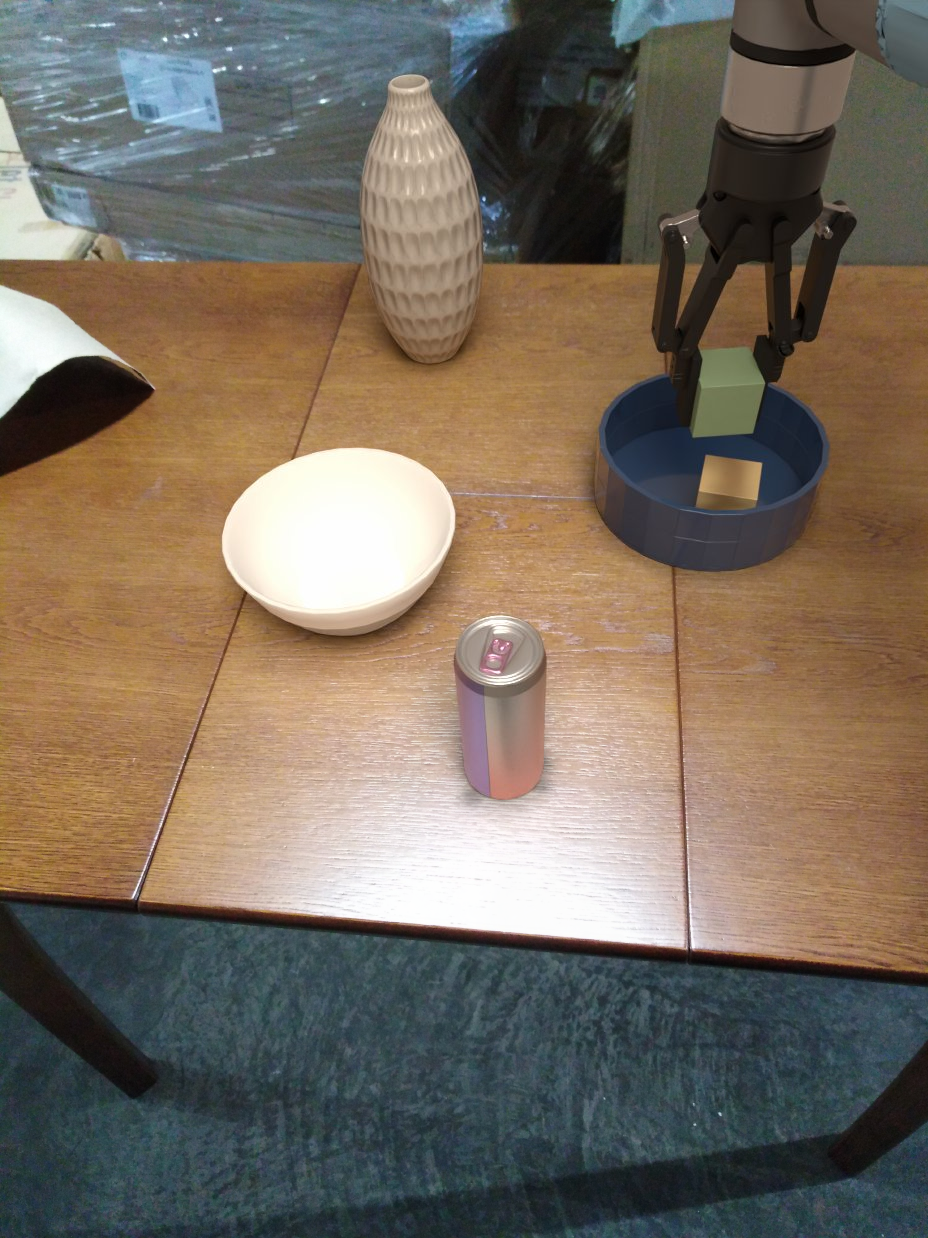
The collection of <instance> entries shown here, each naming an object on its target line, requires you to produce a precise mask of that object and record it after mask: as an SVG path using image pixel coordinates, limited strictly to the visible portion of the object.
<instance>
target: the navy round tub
mask: <svg viewBox="0 0 928 1238" xmlns="http://www.w3.org/2000/svg"><path fill="white" fill-rule="evenodd" d="M677 393H678V389H677V390H674V389H673V386H672V382H671V379H670V376H669V372H666V373H662V374H657V375H655V376H651V377H649V378H646V379H644V380H641V381H638V382H636V383H633V384H632V385H631V386H630V387H628V388H627V389H625V390H623V391H622V392H621V393H619V394H618V395H616V396H615V398H614V399H613V400H612V401H611V403H610V404H609V405H608V406H607V408H605V410H604V411H603V414H602V417H601V420H600V422H599V426H598V430H597V440H596V441H597V442H596V454H595V464H594V465H595V467H594V468H595V469H594V479H593V486H594V494H593V495H594V501H595V505H596V508H597V510H598V513H599V515H600V517H601V519H602V520H603V522H604V524H605V525H606V526H607V528H608V529H609V531H610V532H612V533H613V535H615V536H616V538H617V539H619V540H620V541H621V542H622V543H623V544H625V545H626V546H628V547H629V548H630V549H632V550H634V551H635V552H637V553H639V554H641V555H642V556H644V557H647V558H648V559H652V560H654V561H656V562H658V563H662V564H664V565H668V566H671V567H676V568H680V569H684V570H692V571H697V572H698V571H699V572H729V571H737V570H744V569H747V568H750V567H751V568H752V567H755V566H758V565H761V564H763V563H766V562H769V561H770V560H773V559H774V558H776V557H778V556H779V555H782V554H783V553H784V552H786V551H787V550H788V549H790V548H791V547H792V546H793V545H794V544H795V543H796V542H797V541H798V540H799V538H800V537H801V536H802V534H803V533H804V532H805V529H806V527H807V524H808V522H809V520H810V519H811V516H812V513H813V511H814V508H815V505H816V501H817V499H818V497H819V493H820V490H821V488H822V484H823V481H824V478H825V475H826V472H827V470H828V467H829V464H830V463H829V462H830V449H831V443H830V440H829V437H828V434H827V431H826V428H825V426H824V424H823V423H822V422H821V420H820V418H819V417H817V415H816V413H815V412H814V411H813V410H812V409H811V407H809V405H807V404H806V403H805V402H803V401H802V400H801V399H799V397H797V396H795V395H794V394H793V393H791V392H790V391H788V390H786V389H784V388H782V387H780V386H777V385H776V384H773V383H772V382H771V383H768V387H767V391H766V395H765V399H764V403H763V407H762V411H761V415H760V419H759V422H755V426H754V430H753V433H751V434H737V435H723V436H709V437H695V438H693V437H692V434H691V431H690V428H689V427H681V424H680V421H679V418H678V414H677V411H676V408H675V406H676V399H677ZM706 455H712V456H719V457H725V458H732V459H739V460H746V461H753V462H759V463H762V469H761V477H760V484H759V491H758V499H757V503H756V507H754V508H749V509H744V510H709V509H703V508H697V507H695V506H696V500H697V495H698V490H699V485H700V480H701V476H702V471H703V466H704V461H705V456H706Z"/></svg>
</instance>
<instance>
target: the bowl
mask: <svg viewBox="0 0 928 1238" xmlns="http://www.w3.org/2000/svg"><path fill="white" fill-rule="evenodd" d="M456 516H457V513H456V509H455V504H454V502H453V498H452V496H451V495H450V492H449V491H448V489H447V488H446V486H445V484H444V483H443V481H442V480H441V479H439V478H438V477H437V476H436V475H435V473H433V471H432V470H430V469H429V468H427V467H426V466H424V465H423V464H422V463H419V462H418V461H416V460H415V459H414V460H413V459H412V458H410V457H407V456H405V455H402V454H399V453H396V452H391V451H387V450H383V449H380V448H379V449H378V448H369V447H340V448H339V447H337V448H332V449H327V450H320V451H316V452H313V453H309V454H305V455H302V456H299V457H296V458H294V459H292V460H289V461H287V462H285V463H283V464H280V465H278V466H276V467H274V468H273V469H272V470H270V471H269V472H267V473H265V474H263V475H261V476H260V477H259V478H258V479H256V480H255V481H254V482H253V483H252V484H251V485H249V486H248V487H247V488H246V489H245V490H244V492H242V494H241V495H240V496H239V497H238V498H237V500H236V501H235V503H233V505H232V507H231V509H230V511H229V513H228V515H227V517H226V519H225V522H224V527H223V532H222V534H221V552H222V553H221V554H222V557H223V559H224V562H225V566H226V569H227V571H228V572H229V574H230V575H231V577H232V579H234V581H235V583H236V584H237V585H238V586H240V587H241V588H242V589H243V590H244V591H245V592H246V593H247V594H248V595H249V596H251V597H252V599H254V600H255V601H256V602H257V603H259V605H261V606H262V608H264V609H265V610H267V611H268V612H269V613H270V614H272V615H274V616H276V617H278V618H279V619H281V620H283V621H285V622H288V623H290V624H292V625H294V626H298V627H300V628H303V629H305V630H307V631H311V632H314V633H317V634H322V635H329V636H338V637H339V636H340V637H346V636H347V637H349V636H351V637H352V636H353V637H354V636H359V635H364V634H365V635H366V634H368V633H371V632H374V631H377V630H379V629H381V628H384V627H385V626H387V625H389V624H390V623H392V622H394V621H396V620H398V618H401V616H403V615H404V614H406V612H408V611H409V610H410V609H411V608H412V607H413V606H414V604H416V603H417V601H419V600H420V598H421V597H422V596H423V595H424V594H425V593H426V591H427V590H428V589H429V588H430V587H431V586H432V585H433V583H434V582H435V579H436V578H437V576H438V575H439V573H440V571H441V569H442V567H443V565H444V563H445V560H446V558H447V556H448V553H449V552H450V549H451V546H452V542H453V539H454V536H455V533H456V526H457V525H456V524H457V521H456V520H457V519H456Z"/></svg>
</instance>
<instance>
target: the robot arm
mask: <svg viewBox="0 0 928 1238" xmlns="http://www.w3.org/2000/svg"><path fill="white" fill-rule="evenodd" d="M730 27H731V30H730V36H729V40H728V47H727V53H726V59H725V65H724V72H723V77H722V84H721V90H720V96H719V102H718V111H719V115H721V117H720V118H718V120H717V121H716V123H715V127H714V131H713V132H714V134H713V138H712V146H711V152H710V159H709V164H708V170H707V176H706V177H707V178H706V185H705V189H704V192H703V193H702V194H701V196H700V198H699V199H698V200H697V202H696V205H695V208H694V209H692V210H689V211H686V212H685V213H682V214H679V215H677V216H674V215H673V214H672V213H671V212H663V214H660V216H659V217H657V218H658V219H657V221H656V224H657V225H656V226H657V228H658V233H659V237H660V242H661V245H662V246H661V254H660V261H659V269H658V276H657V283H656V290H655V297H654V306H653V313H652V320H651V327H650V331H651V334H652V339H653V341H654V345H655V348H656V350H657V352H658V353H660V354H666V353H668V352H669V353H671V358H670V364H669V371H668V373H669V376H670V379H671V382H672V386H673V389H674V390H677V389H678V393H677V399H676V406H675V408H676V411H677V414H678V418H679V421H680V424H681V427H690V424H691V418H692V413H693V407H694V401H695V396H696V390H697V384H698V379H699V378H700V372H701V367H702V361H703V359H702V356H701V353H700V351H699V350H700V348H699V343H700V341H701V339H702V337H703V335H704V332H705V330H706V329H707V326H708V324H709V321H710V320H711V317H712V315H713V312H714V310H715V309H716V306H717V304H718V302H719V299H720V297H721V296H722V293H723V291H724V288H725V287H726V284H727V282H728V281H730V280H731V279H732V278H733V277H734V274H735V272H736V269H737V268H738V266H740V265H745V264H747V263H751V262H757V263H761V264H762V263H763V264H764V278H765V297H766V299H765V300H766V315H767V316H766V317H767V331H768V333H769V334H768V335H767V334H757V335H756V338H755V342H754V346H753V351H752V354H753V356H754V359H755V361H756V363H757V366H758V368H759V370H760V373H761V374H762V377H763V379H764V381H765V386H764V390H763V394H762V398H761V402H760V406H759V410H758V414H757V418H756V422H759V419H760V415H761V411H762V407H763V403H764V399H765V395H766V391H767V387H768V383H771V384H772V383H778V382H779V380H780V379H781V377H782V375H783V374H782V373H783V370H784V365H785V361H786V359H787V358H788V357H791V356H792V355H793V354H794V353H795V350H796V347H795V346H794V344H797V343H799V342H803V343H811V342H813V341H815V340H816V339H817V337H818V334H819V331H820V328H821V324H822V321H823V317H824V313H825V309H826V306H827V303H828V299H829V294H830V291H831V287H832V283H833V280H834V277H835V273H836V270H837V267H838V262H839V259H840V255H841V252H842V249H843V247H844V246H845V244H846V243H847V241H848V240H849V238H850V236H851V235H852V233H853V232H854V230H855V229H856V228H857V226H858V225H857V224H858V220H857V218H856V217H855V215H854V214H853V212H852V211H851V209H850V207H849V206H848V204H847V203H846V202H845V201H844V200H843V199H837V200H834V201H833V202H832V203H831V202H828V201H824V200H823V196H822V192H821V191H822V185H823V183H824V181H825V178H826V174H827V170H828V166H829V162H830V158H831V154H832V150H833V147H834V143H835V138H836V134H837V130H836V129H837V128H836V126H835V125H834V124H835V123H836V122H837V121H839V119H840V118H841V115H842V112H843V108H844V104H845V100H846V95H847V92H848V87H849V85H850V80H851V75H852V71H853V67H854V63H855V59H856V55H857V51H858V52H860V53H861V54H863V55H865V56H867V57H868V58H871V59H872V60H874V61H876V62H877V63H880V64H881V65H884V66H885V67H886V68H888V69H890V70H891V71H893V73H894V74H895V75H897V76H899V77H901V78H902V79H903V80H905V82H908V83H915V84H916V85H917V86H919V87H920V88H925V89H928V0H734V5H733V12H732V19H731V25H730ZM811 226H813V230H814V234H813V236H812V241H811V244H810V248H809V252H808V255H807V256H808V257H807V260H806V264H805V268H804V272H803V275H802V276H803V277H802V281H801V285H800V288H799V293H798V297H797V300H796V304H795V308H794V309H795V310H794V313H793V317H792V290H791V289H792V288H791V287H792V285H791V272H792V271H793V258H792V257H793V256H792V252H793V251H792V246H793V245H794V244H795V243H796V242H797V241H799V239H800V238H801V237H802V236H803V234H804V233H805V232H806V231H807V230H808V229H809V228H810V227H811ZM700 229H701V230H702V231H703V233H704V235H705V236H706V239H708V241H709V242H708V244H707V247H706V249H705V252H704V260H703V263H702V266H701V268H700V270H699V273H698V275H697V277H696V279H695V282H694V284H693V287H692V289H691V291H690V292H689V293H690V294H689V296H688V298H687V301H686V303H685V306H684V308H683V310H682V313H681V314H680V317H679V319H678V313H679V308H680V300H681V296H682V295H681V294H682V289H683V281H684V276H685V269H686V251H688V250H689V249H690V248H691V246H692V244H693V242H694V236H695V233H697V231H698V230H700ZM677 319H678V321H677Z"/></svg>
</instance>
